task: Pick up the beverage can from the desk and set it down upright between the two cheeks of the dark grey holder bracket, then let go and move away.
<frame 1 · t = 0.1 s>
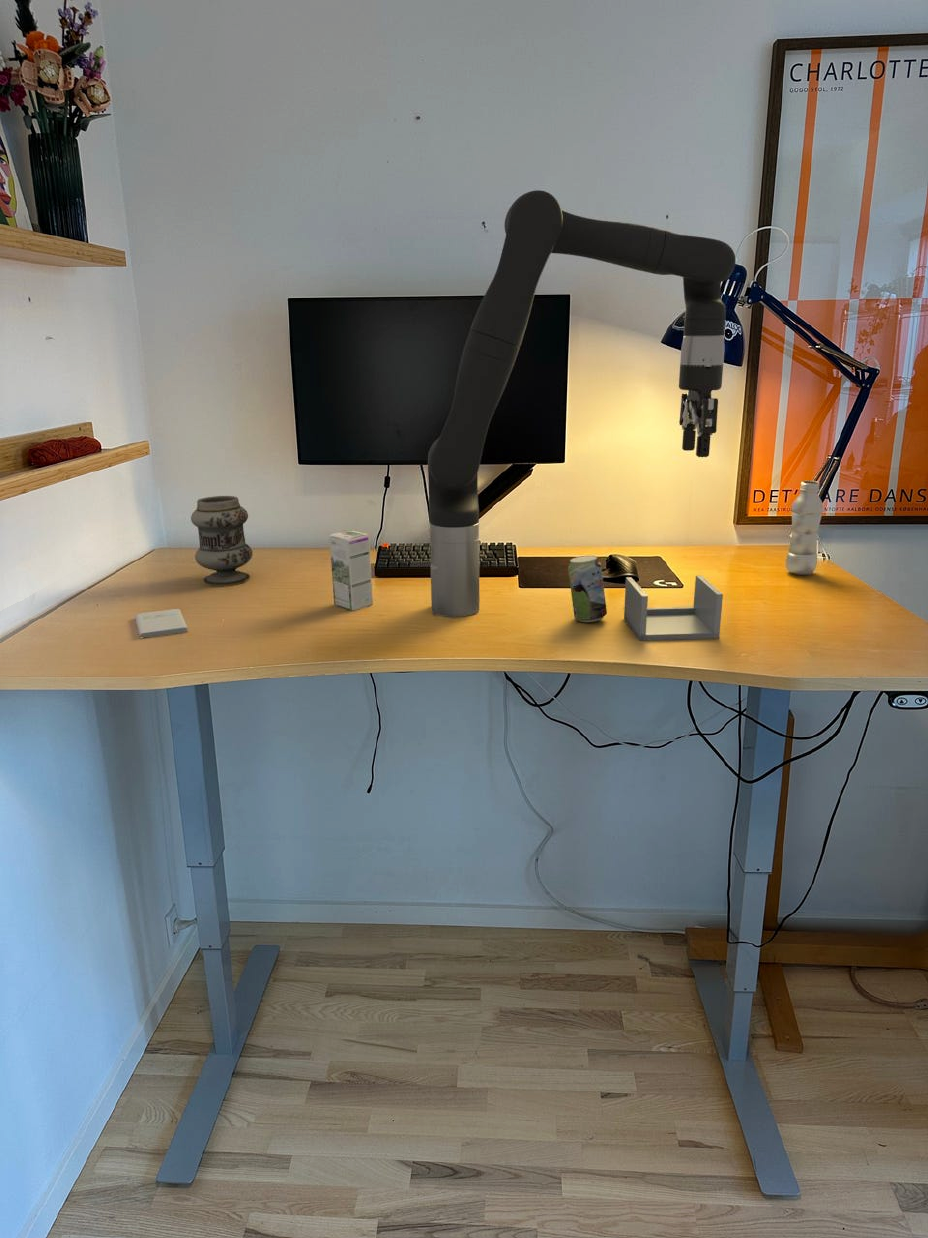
hand: (695, 453, 162), 29 cm above the table, tool pointing down, fingers open, 8 cm apart
external hard drive: (161, 629, 162), on the table
beverage can: (586, 620, 162), on the table
plastic bottle: (799, 574, 190), on the table
holder: (669, 628, 157), on the table
apothecary jar: (226, 581, 191), on the table
syrup box: (353, 606, 172), on the table
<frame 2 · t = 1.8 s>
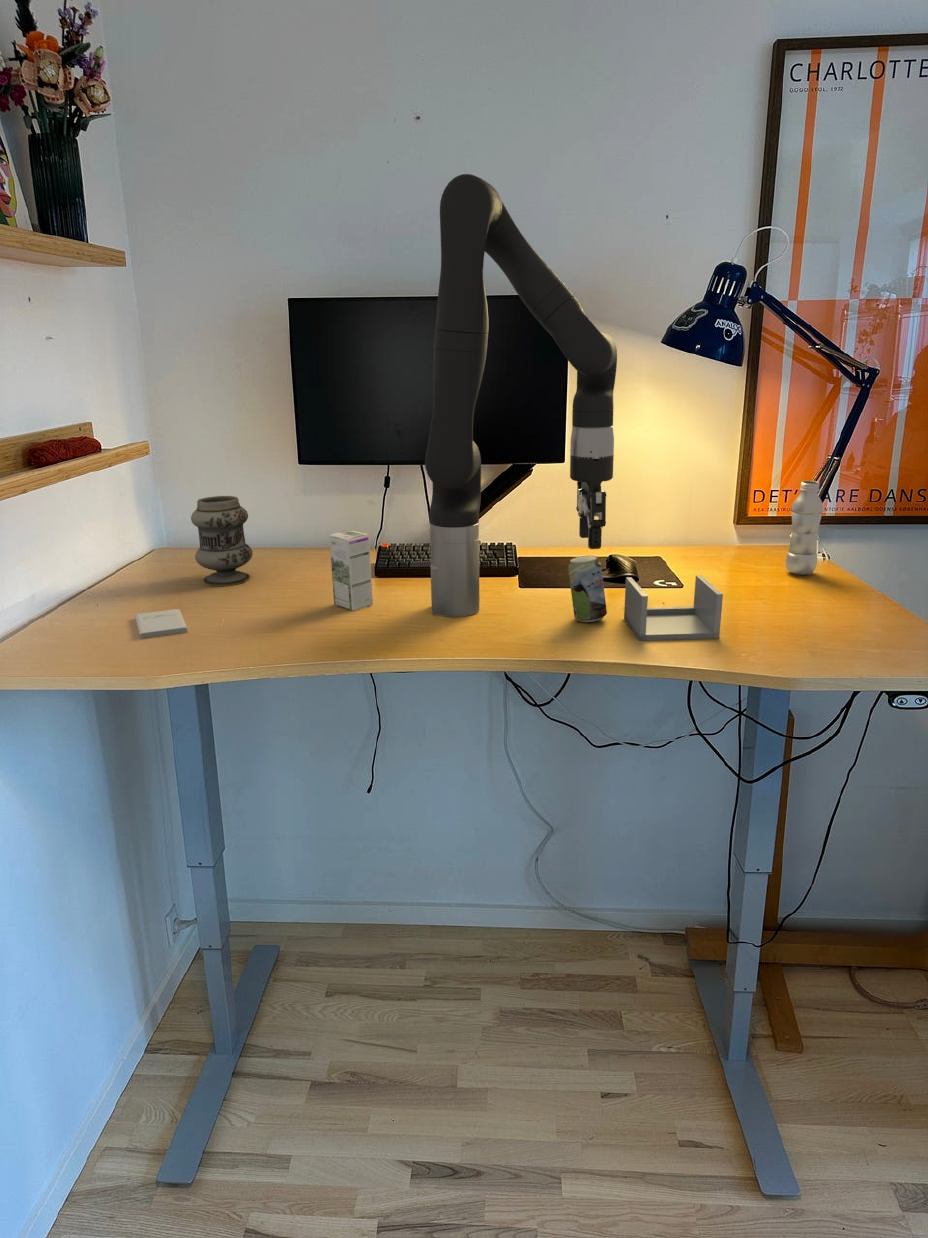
hand: (589, 542, 157), 15 cm above the table, tool pointing down, fingers open, 8 cm apart
nothing on the table moved.
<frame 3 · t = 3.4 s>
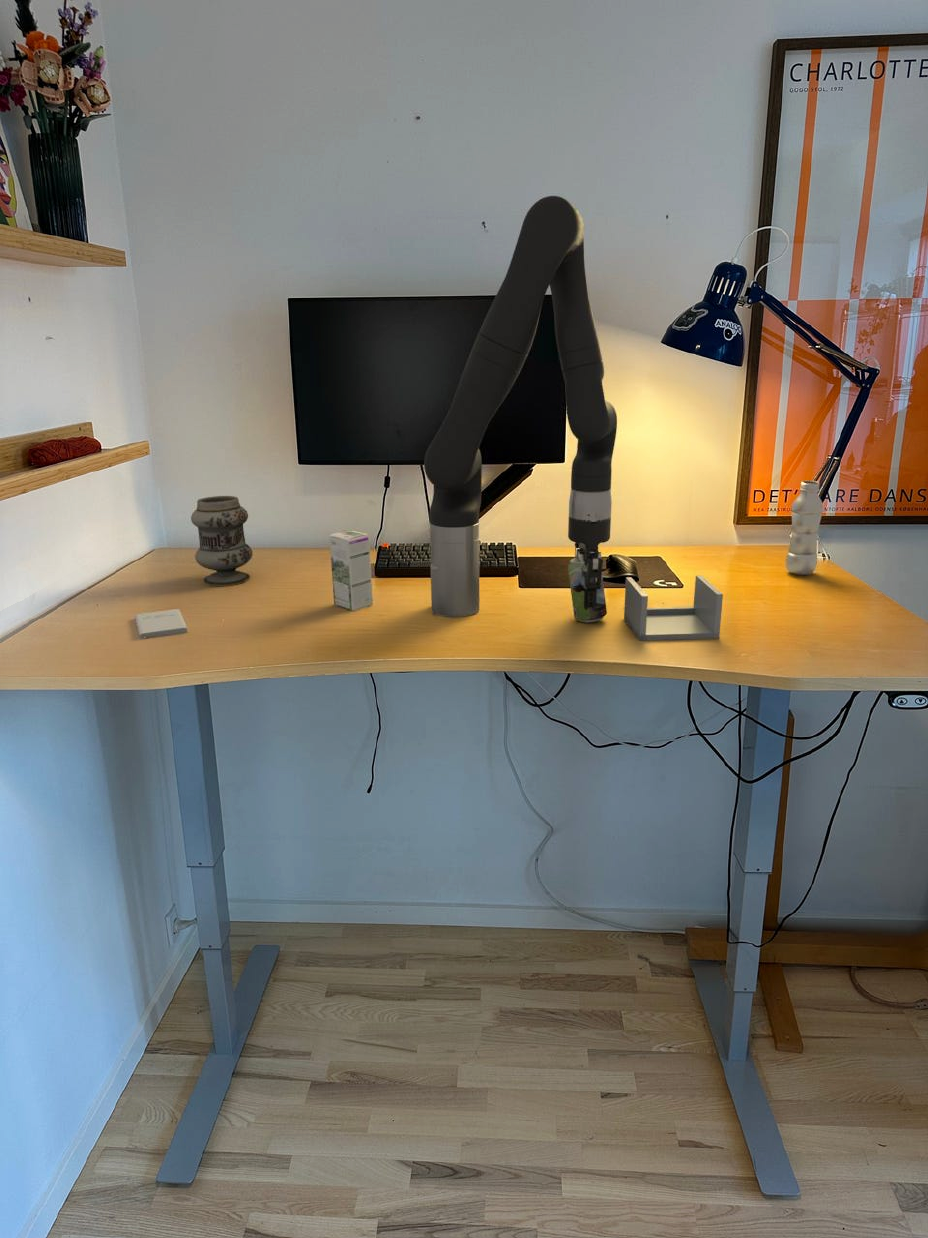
hand: (586, 603, 161), 3 cm above the table, tool pointing down, fingers open, 5 cm apart
beverage can: (586, 620, 162), on the table, touching gripper
everything else where it was.
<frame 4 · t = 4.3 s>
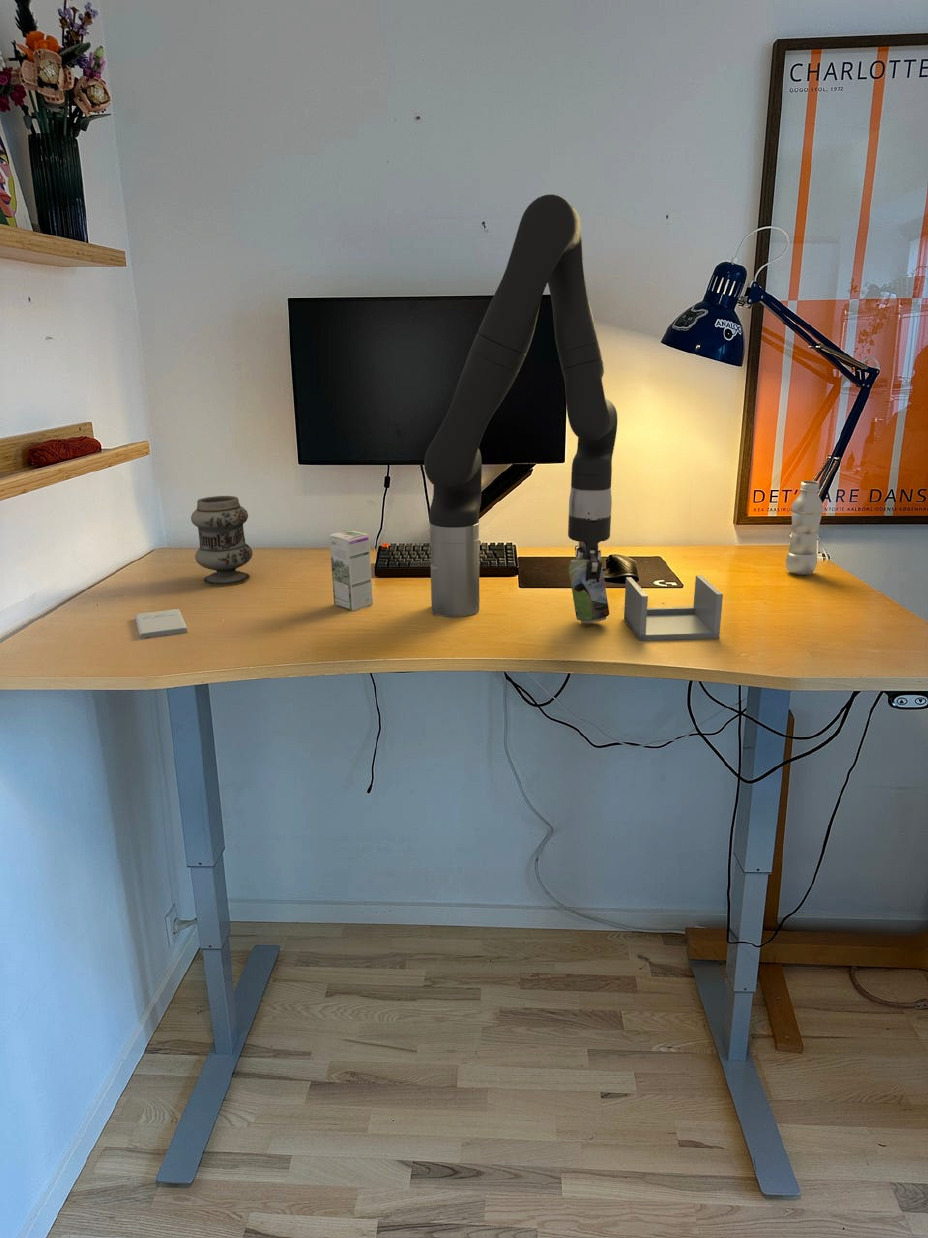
hand: (586, 604, 161), 3 cm above the table, tool pointing down, fingers closed on beverage can
beverage can: (589, 622, 159), on the table, touching gripper, hand
everything else where it was.
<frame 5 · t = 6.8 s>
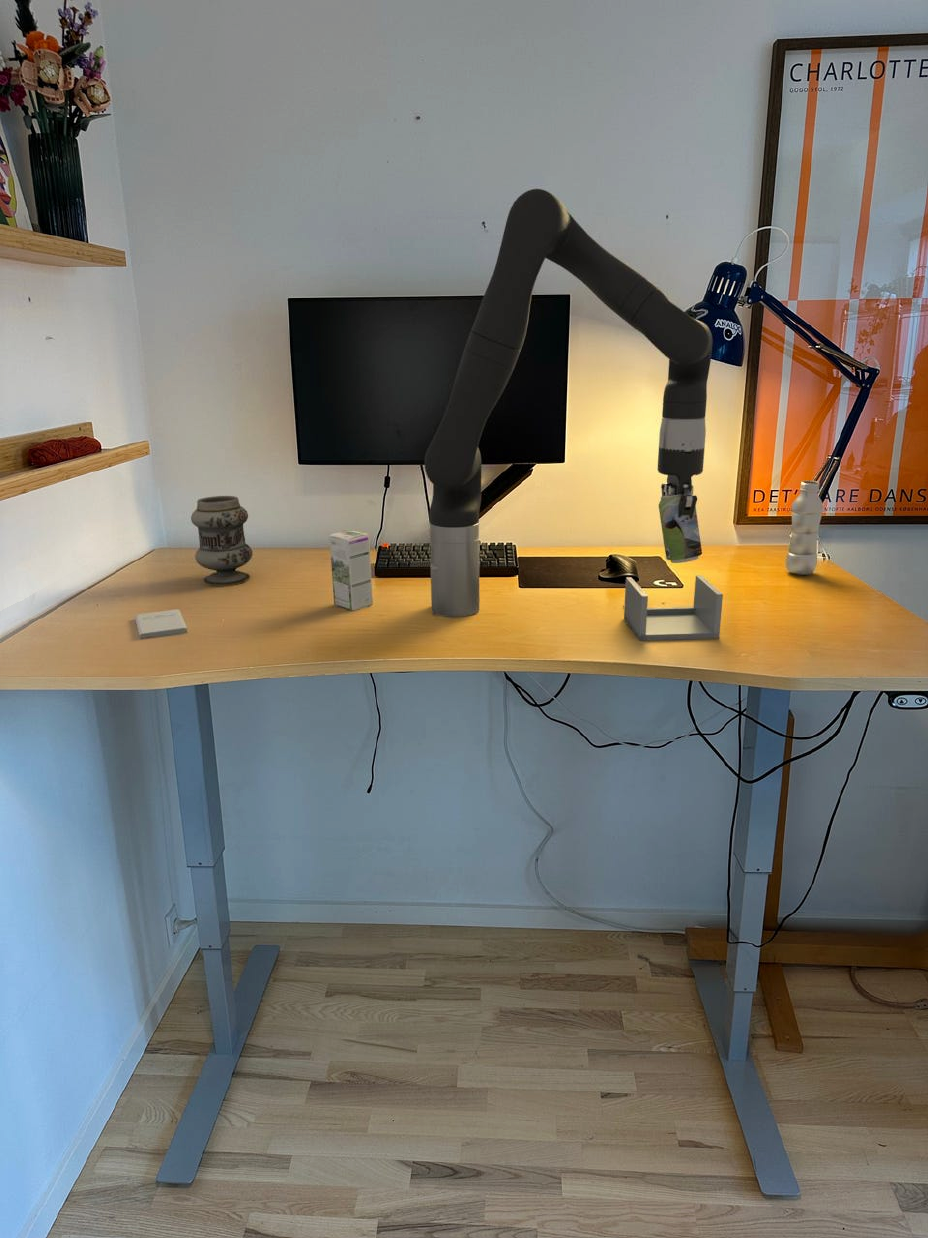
hand: (675, 544, 152), 15 cm above the table, tool pointing down, fingers closed on beverage can
beverage can: (679, 563, 150), point 13 cm above the table, touching gripper, hand
everything else where it was.
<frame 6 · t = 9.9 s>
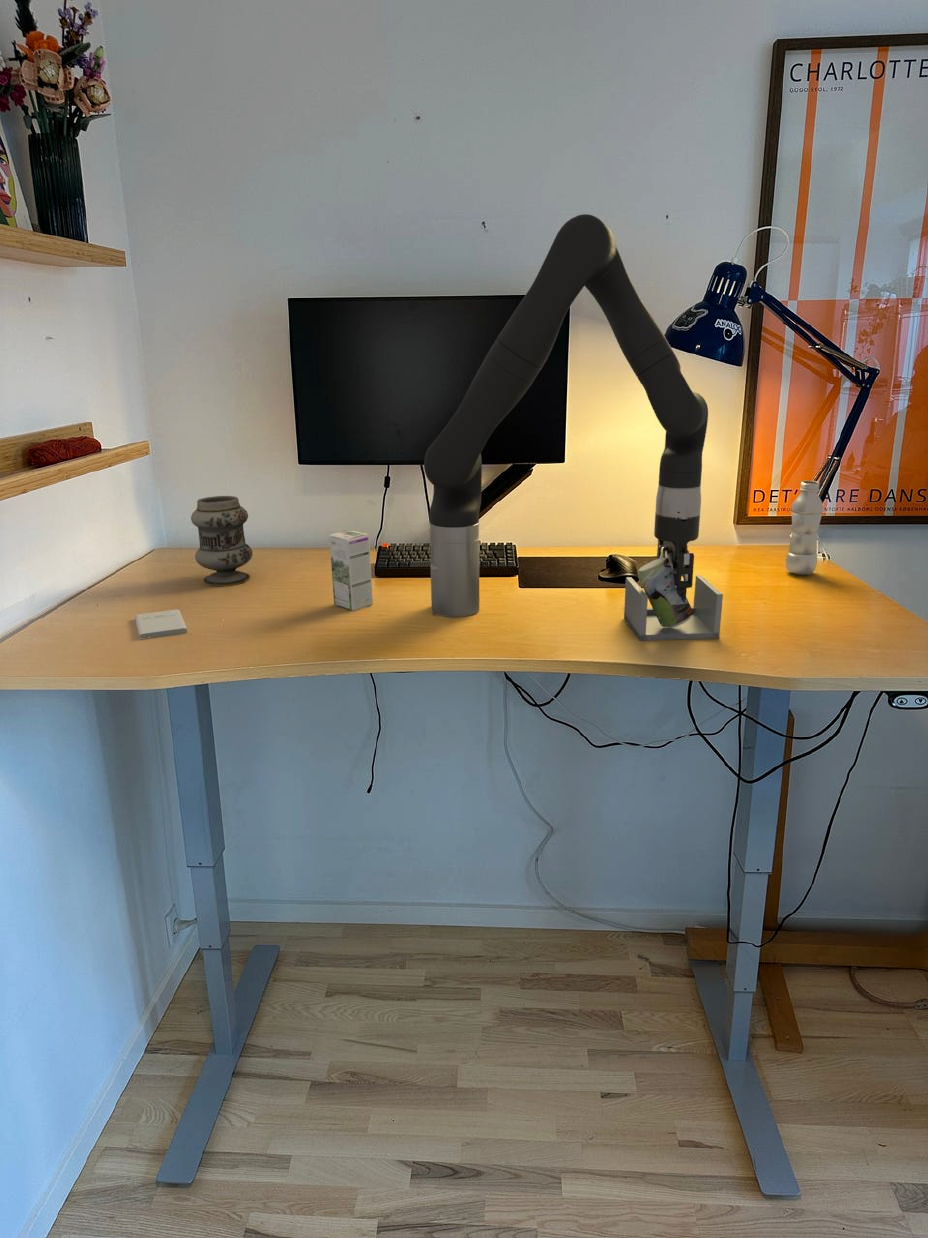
hand: (671, 601, 156), 5 cm above the table, tool pointing down, fingers open, 8 cm apart
beverage can: (674, 625, 154), point 2 cm above the table, touching holder
everything else where it was.
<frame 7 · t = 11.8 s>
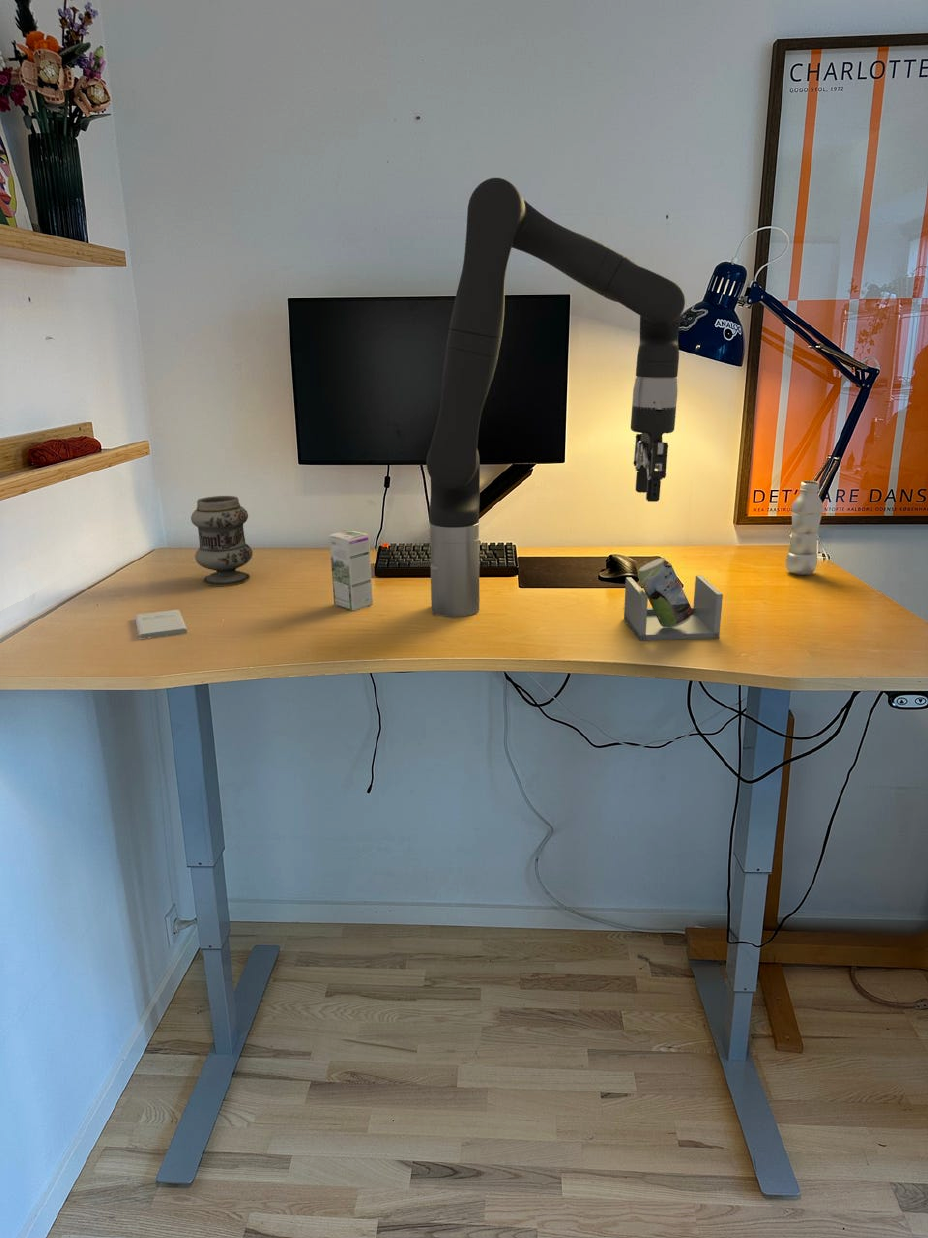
hand: (646, 496, 157), 23 cm above the table, tool pointing down, fingers open, 8 cm apart
nothing on the table moved.
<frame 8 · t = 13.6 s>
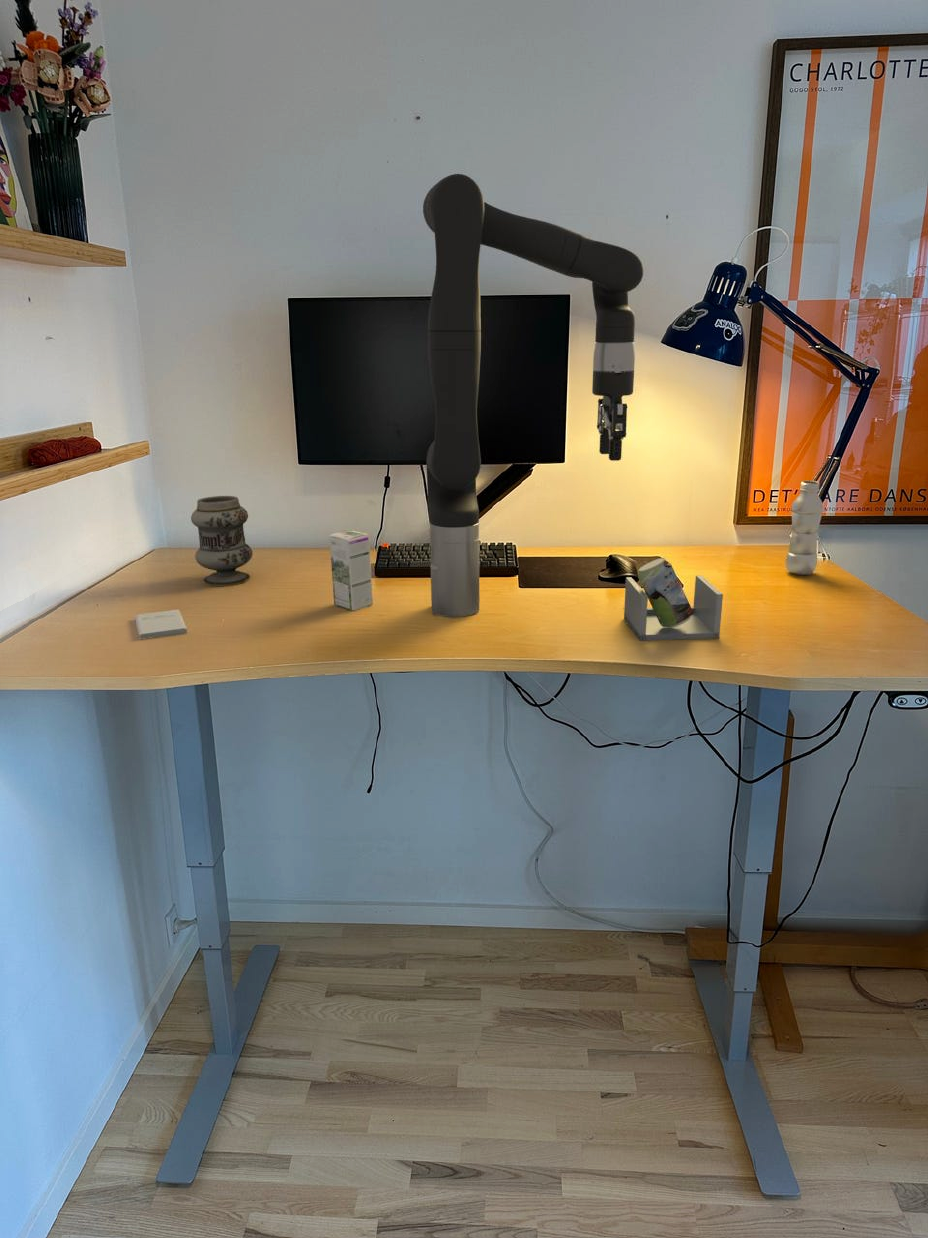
hand: (609, 456, 166), 28 cm above the table, tool pointing down, fingers open, 8 cm apart
nothing on the table moved.
at the end: beverage can inside the target area on the holder (3.0 cm from its centre), point 1.5 cm above the holder's base; beverage can tilted 18°; the gripper is holding nothing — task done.
